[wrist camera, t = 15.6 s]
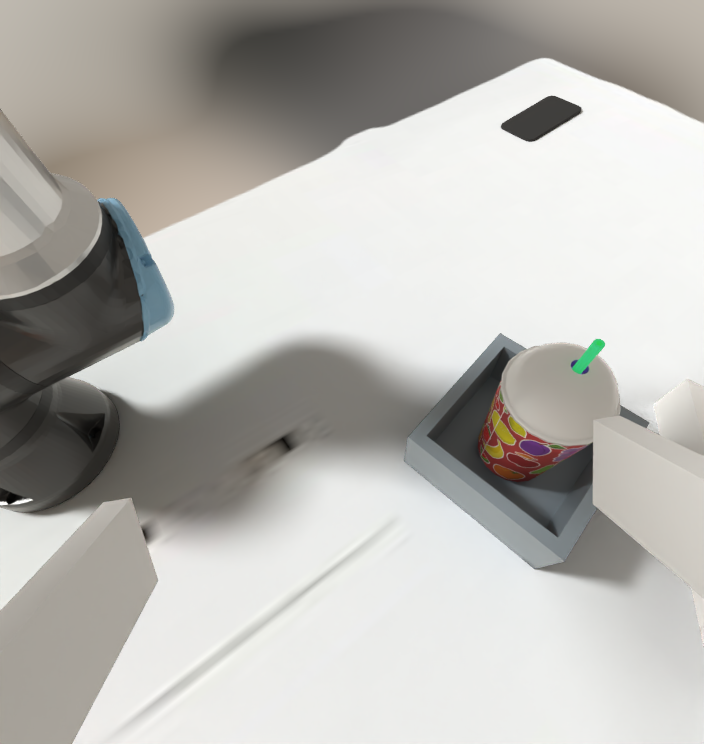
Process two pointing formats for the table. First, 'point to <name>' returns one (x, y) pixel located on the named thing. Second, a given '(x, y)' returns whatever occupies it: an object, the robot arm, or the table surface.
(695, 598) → the triangle block
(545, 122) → the phone
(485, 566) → the table surface
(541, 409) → the smoothie
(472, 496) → the tray
